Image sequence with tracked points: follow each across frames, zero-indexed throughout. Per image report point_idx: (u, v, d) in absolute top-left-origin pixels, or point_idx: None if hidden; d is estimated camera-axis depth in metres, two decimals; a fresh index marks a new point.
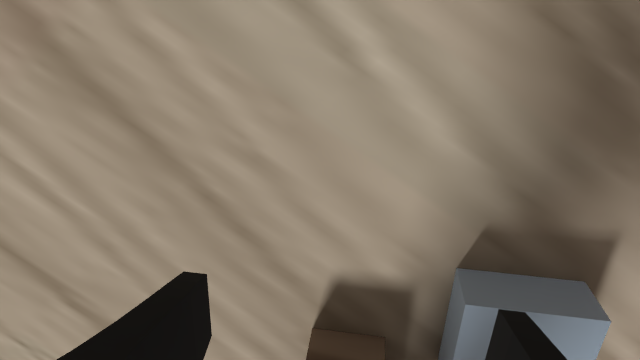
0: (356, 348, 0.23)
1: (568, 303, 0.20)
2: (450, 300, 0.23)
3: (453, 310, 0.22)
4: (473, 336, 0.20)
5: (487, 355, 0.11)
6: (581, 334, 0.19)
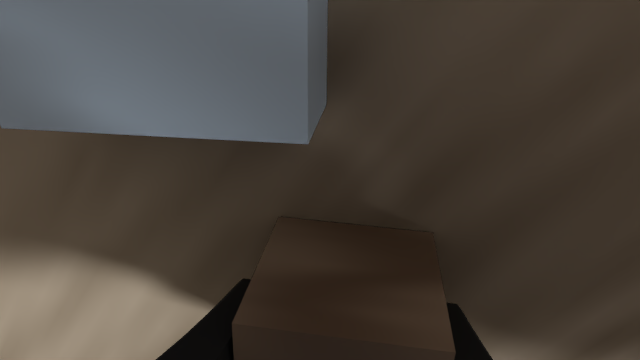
0: None
1: None
2: None
3: None
4: (76, 98, 0.08)
5: None
6: None
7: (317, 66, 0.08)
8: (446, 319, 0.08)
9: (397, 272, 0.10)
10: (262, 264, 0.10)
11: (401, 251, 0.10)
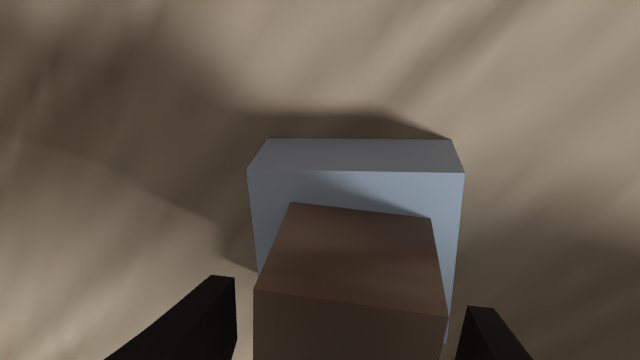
0: None
1: None
2: None
3: None
4: None
5: (457, 351, 0.11)
6: (278, 200, 0.13)
7: None
8: (441, 290, 0.10)
9: (398, 251, 0.11)
10: (278, 241, 0.11)
11: (402, 233, 0.12)
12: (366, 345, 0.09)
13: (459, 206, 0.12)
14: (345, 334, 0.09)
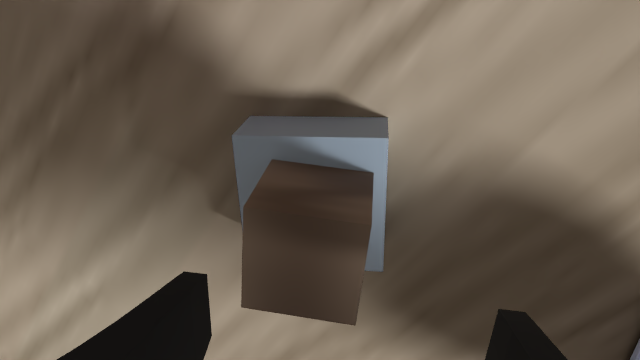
0: None
1: None
2: None
3: None
4: None
5: (487, 355, 0.11)
6: (255, 158, 0.17)
7: None
8: (370, 212, 0.14)
9: (346, 190, 0.15)
10: (261, 182, 0.15)
11: (350, 180, 0.16)
12: (318, 247, 0.14)
13: (386, 163, 0.17)
14: (304, 239, 0.14)
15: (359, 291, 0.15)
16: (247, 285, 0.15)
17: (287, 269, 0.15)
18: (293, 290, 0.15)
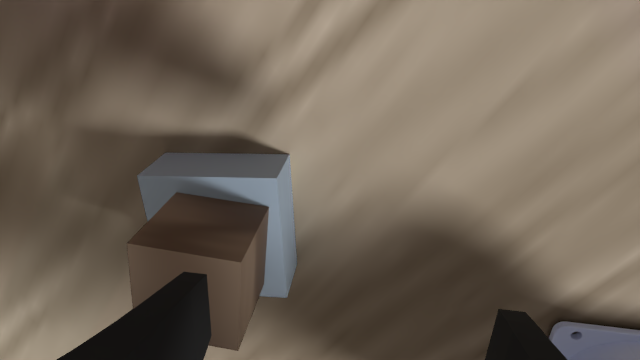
0: None
1: None
2: None
3: None
4: None
5: (487, 355, 0.11)
6: (160, 196, 0.19)
7: (290, 262, 0.21)
8: (246, 249, 0.16)
9: (233, 225, 0.17)
10: (154, 217, 0.17)
11: (242, 215, 0.18)
12: None
13: (277, 200, 0.18)
14: None
15: (237, 320, 0.16)
16: None
17: None
18: None
